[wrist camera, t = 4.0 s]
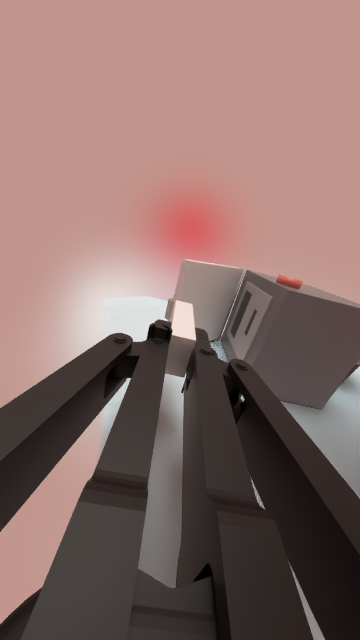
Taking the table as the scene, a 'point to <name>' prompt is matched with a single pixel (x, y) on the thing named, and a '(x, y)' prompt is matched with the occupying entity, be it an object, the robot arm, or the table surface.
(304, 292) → the housing
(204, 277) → the door
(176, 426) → the table surface
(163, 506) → the table surface
